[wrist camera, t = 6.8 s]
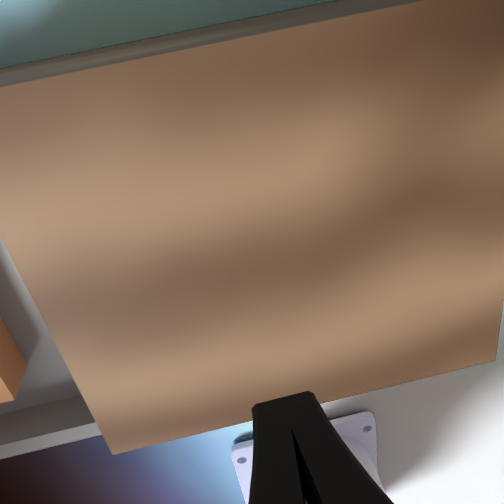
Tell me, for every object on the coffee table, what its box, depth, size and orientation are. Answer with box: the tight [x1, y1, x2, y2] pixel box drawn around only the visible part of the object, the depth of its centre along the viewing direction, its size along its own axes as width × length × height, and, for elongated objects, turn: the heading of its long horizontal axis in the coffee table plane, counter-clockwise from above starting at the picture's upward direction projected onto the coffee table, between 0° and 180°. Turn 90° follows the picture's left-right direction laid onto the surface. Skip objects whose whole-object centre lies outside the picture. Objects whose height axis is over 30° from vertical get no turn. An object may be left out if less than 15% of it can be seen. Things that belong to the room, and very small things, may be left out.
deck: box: [0, 0, 504, 455], centre depth 17 cm, size 14×16×4 cm
